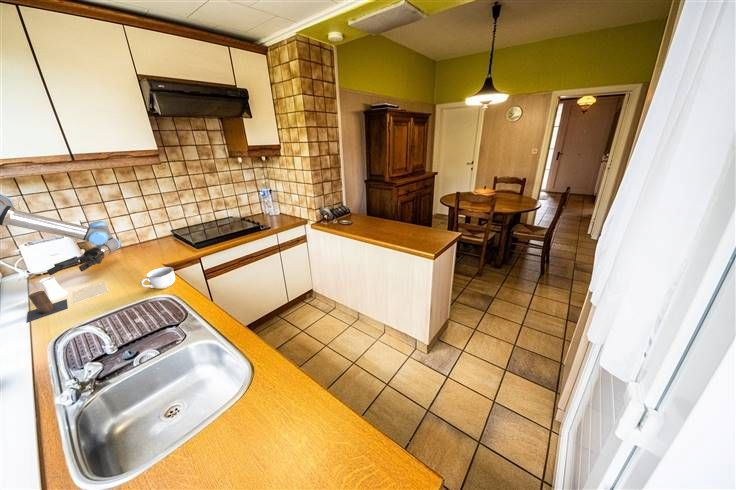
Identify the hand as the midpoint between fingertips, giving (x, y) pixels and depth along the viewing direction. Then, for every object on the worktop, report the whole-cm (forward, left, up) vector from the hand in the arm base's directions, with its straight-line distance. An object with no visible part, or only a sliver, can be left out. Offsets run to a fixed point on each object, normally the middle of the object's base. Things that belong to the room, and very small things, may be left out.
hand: (64, 270), depth 132 cm
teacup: (+39, +29, -10) cm, 50 cm away
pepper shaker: (+22, -9, -9) cm, 26 cm away
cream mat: (+16, +5, -9) cm, 20 cm away
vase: (+7, -6, -10) cm, 13 cm away
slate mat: (+21, -9, -9) cm, 25 cm away
